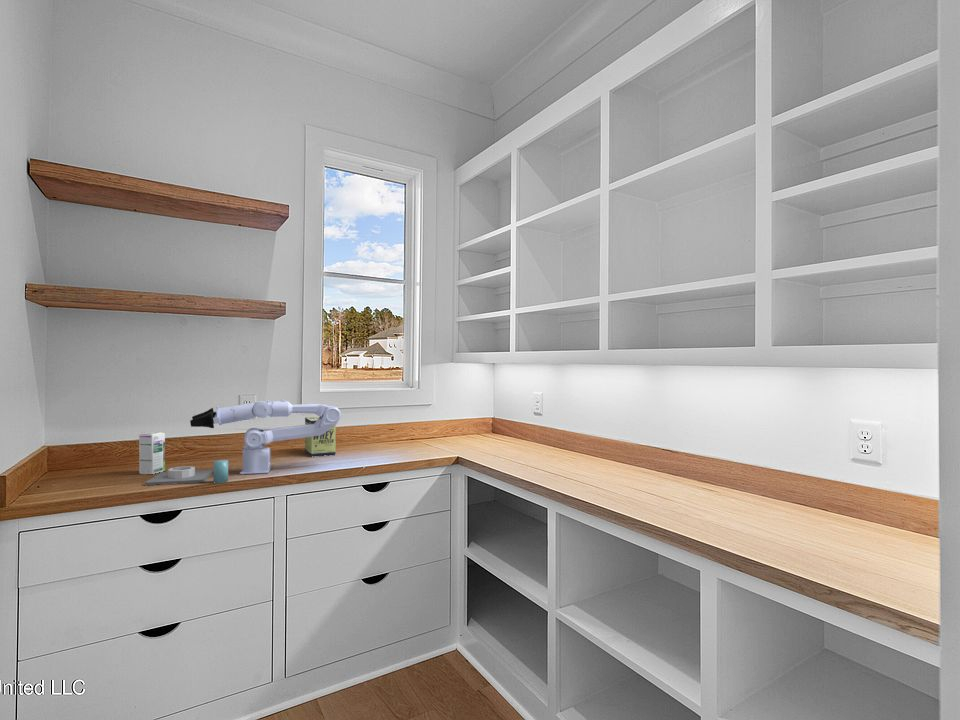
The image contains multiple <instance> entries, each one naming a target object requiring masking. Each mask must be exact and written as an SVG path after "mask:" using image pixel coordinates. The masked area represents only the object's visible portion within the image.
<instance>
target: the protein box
mask: <svg viewBox="0 0 960 720" xmlns="http://www.w3.org/2000/svg"><path fill="white" fill-rule="evenodd" d="M319 417H320V416H311V417H309V416H308V417H304V425H307V424H314V423H315V422H316V421H317V420H318V418H319ZM336 426H337V424H336V425H335V426H333V427H332V428H330V429H329V430H328V431H327V432H325V433H324V434H323V435H319V436H312V437H304V452H305V453H306V454H307V455H308V454H309V455H310V458H313V457H312V456H319V457H325V456H324V455H332V456H336V455H335V454H337V453H336V452H337V450H336V447H337V445H336V444H337V442H336V441H337V440H336V435H337V434H336V433H337V431H336V430H337V427H336ZM309 455H308V456H309Z"/></svg>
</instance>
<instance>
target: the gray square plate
mask: <svg viewBox="0 0 960 720" xmlns="http://www.w3.org/2000/svg"><path fill="white" fill-rule="evenodd" d="M213 475H214V469H209V470H207V469H204V470H196V467H195V466H189V465H188V466H187V465H186V466H184V465H183V466H175V467H171V468H168V469H167V471H165V472H160V473H157V474H155V475H154V476H153V477H151V478H150V479H149V480H147V481H145V482H144V486H145V485H149V486H157V485H156V484H168V485H174V484H173V483H188V484H200V483H199V482H203V483H205V482H206V481H207V480H208V479H209V478H210V477H211V476H213ZM209 476H210V477H209ZM208 477H209V478H208ZM207 478H208V479H207Z"/></svg>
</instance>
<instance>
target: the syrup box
mask: <svg viewBox="0 0 960 720" xmlns="http://www.w3.org/2000/svg"><path fill="white" fill-rule="evenodd" d="M138 439H139V440H138V441H139V442H138V446H139V447H138V451H139V452H138V453H139V454H138V455H139V456H138V457H139V458H138V459H139V461H138V462H139V467H138V469H139V474H140V475H147V474H153V475H156V474H160V473H161V472H163V471H165V472H166V433H165V432H163V431H152V432H151V431H150V432H146V433H140V434H139V435H138ZM159 472H160V473H159ZM155 473H156V474H155Z"/></svg>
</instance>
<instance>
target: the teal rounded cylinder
mask: <svg viewBox="0 0 960 720" xmlns="http://www.w3.org/2000/svg"><path fill="white" fill-rule="evenodd" d="M213 470H214V473H213V483H214V482H215V483H214V484H224V483H223V482H226V483H228V482H229V460H228V459H218V460H214V461H213ZM227 481H228V482H227Z"/></svg>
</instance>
